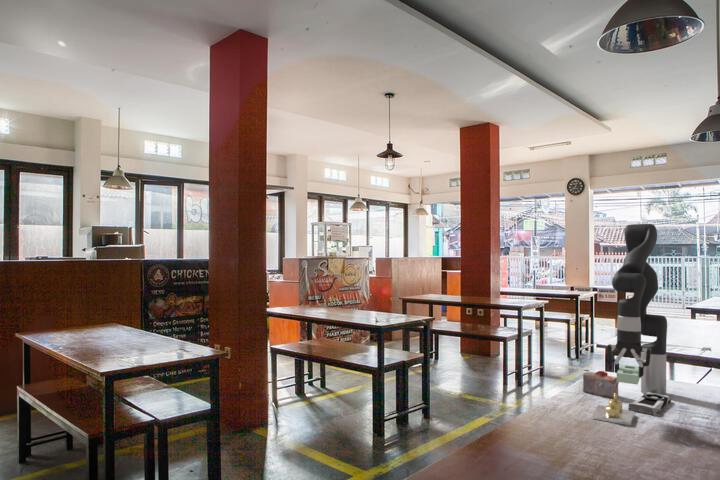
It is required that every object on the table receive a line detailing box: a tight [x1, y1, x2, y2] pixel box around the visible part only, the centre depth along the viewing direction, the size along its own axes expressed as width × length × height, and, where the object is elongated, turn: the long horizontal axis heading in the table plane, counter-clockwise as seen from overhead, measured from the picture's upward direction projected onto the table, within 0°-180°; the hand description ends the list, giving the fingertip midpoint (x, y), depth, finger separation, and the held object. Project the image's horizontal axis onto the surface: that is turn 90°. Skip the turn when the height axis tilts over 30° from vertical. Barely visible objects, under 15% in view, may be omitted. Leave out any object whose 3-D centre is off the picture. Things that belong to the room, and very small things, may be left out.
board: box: [616, 364, 641, 385], centre depth 176 cm, size 16×6×3 cm, turn 147°
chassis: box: [592, 393, 636, 426], centre depth 178 cm, size 13×12×8 cm
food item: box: [582, 370, 620, 399], centre depth 207 cm, size 14×8×10 cm, turn 42°
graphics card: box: [628, 392, 671, 417], centre depth 192 cm, size 10×3×25 cm
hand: (628, 375), depth 176 cm, fingers closed on board, 6 cm apart
